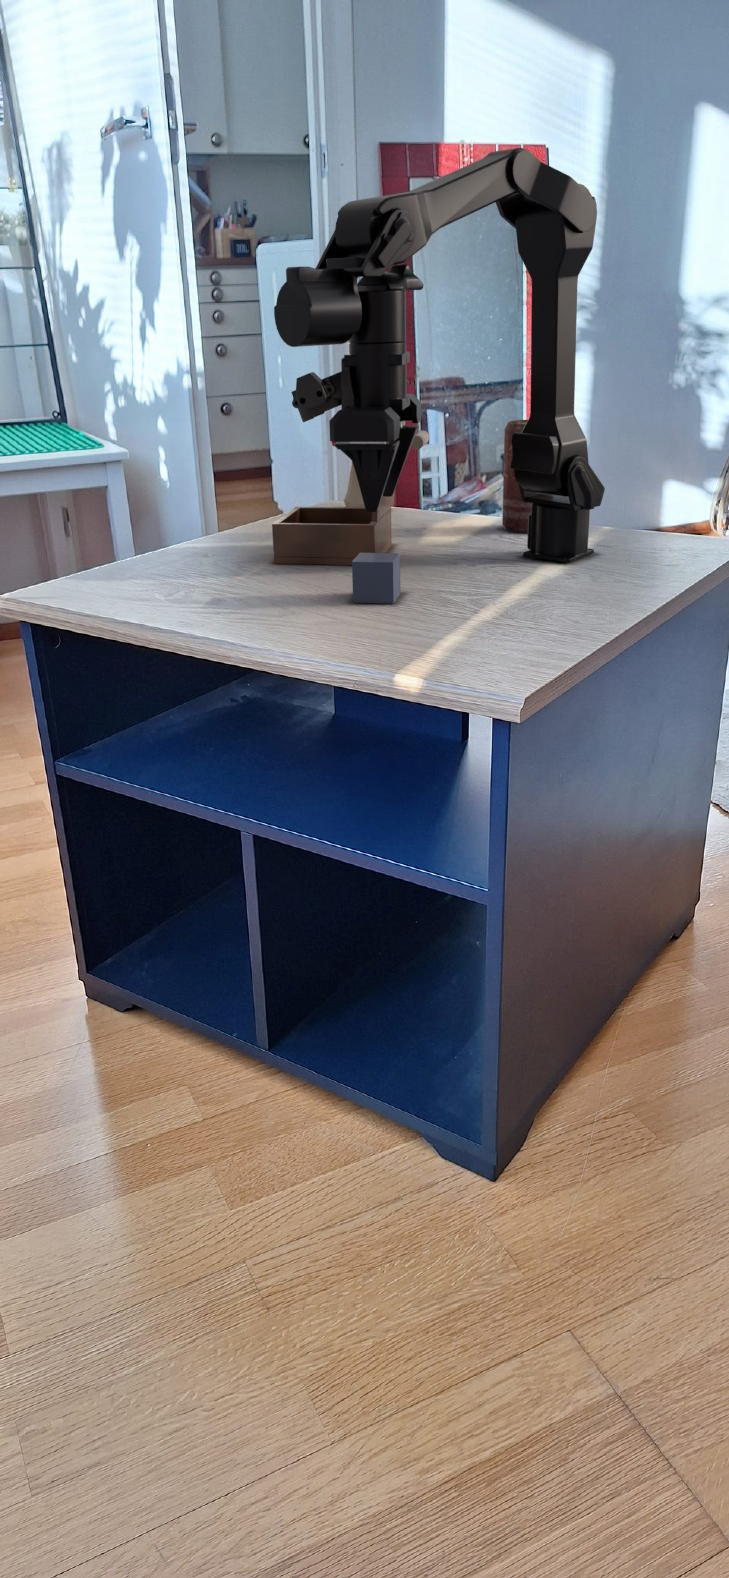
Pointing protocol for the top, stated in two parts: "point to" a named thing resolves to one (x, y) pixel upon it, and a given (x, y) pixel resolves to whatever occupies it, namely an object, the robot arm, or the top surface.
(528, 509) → the can
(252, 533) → the top surface
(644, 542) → the top surface
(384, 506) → the lid
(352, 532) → the chest
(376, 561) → the block
